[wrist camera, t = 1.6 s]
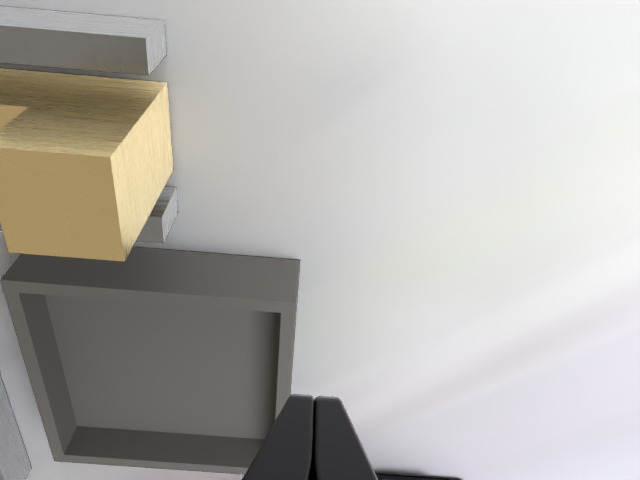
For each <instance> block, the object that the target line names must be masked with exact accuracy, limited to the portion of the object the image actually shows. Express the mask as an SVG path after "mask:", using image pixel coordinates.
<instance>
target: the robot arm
mask: <svg viewBox="0 0 640 480" xmlns="http://www.w3.org/2000/svg"><path fill="white" fill-rule="evenodd" d="M242 480H443V479H428V478H414V477H400V476H386V475H376V474H375V472H374V470H373V468H372V466H371V464H370V461H369V459H368V457H367V455H366V453H365V451H364V448H363V446H362V444H361V442H360V440H359V438H358V436H357V433H356V431H355V429H354V427H353V425H352V423H351V420H350V418H349V416H348V414H347V412H346V410H345V408H344V405H343V403H342V401H341V400H340V399H339V398H337V397H326V396H318V397H316V399H314V397H313V396H311V395H299V394H292V395H290V396H289V397H288V399H287V401H286V402H285V404H284V406H283V408H282V410H281V411H280V413H279V415H278V417H277V418H276V420H275V422H274V424H273V426H272V427H271V429H270V431H269V433H268V434H267V436H266V438H265V440H264V442H263V443H262V445H261V447H260V449H259V450H258V452H257V454H256V456H255V458H254V459H253V461H252V463H251V465H250V466H249V468H248V470H247V472H246V474H245V475H244V477H243V479H242Z"/></svg>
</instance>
